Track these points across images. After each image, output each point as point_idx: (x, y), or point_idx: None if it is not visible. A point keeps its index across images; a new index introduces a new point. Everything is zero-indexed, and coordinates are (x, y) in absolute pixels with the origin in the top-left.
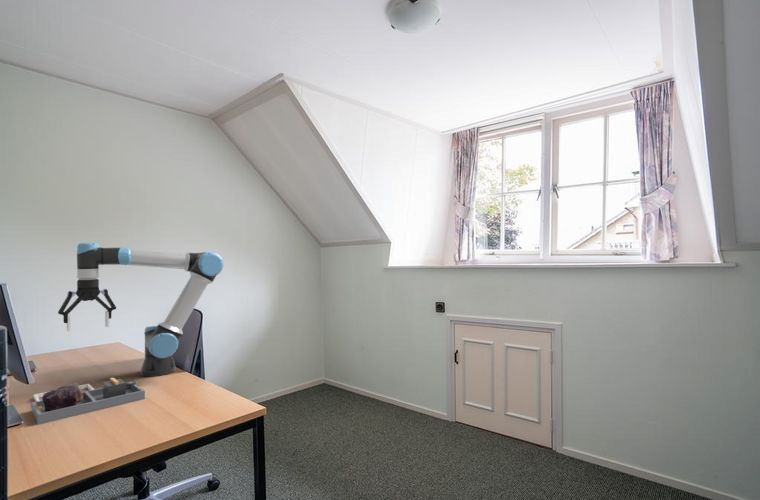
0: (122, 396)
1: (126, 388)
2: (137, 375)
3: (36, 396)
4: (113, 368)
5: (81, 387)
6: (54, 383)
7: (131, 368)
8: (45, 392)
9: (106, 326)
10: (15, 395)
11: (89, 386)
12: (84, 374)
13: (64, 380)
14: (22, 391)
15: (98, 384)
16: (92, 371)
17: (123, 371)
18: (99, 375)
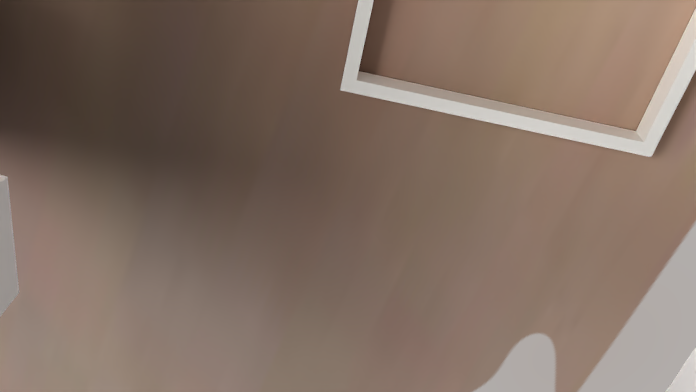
0: None
1: None
2: (13, 63)
3: (673, 95)
4: (95, 344)
5: (391, 82)
6: (422, 332)
7: None
8: (592, 138)
9: (7, 204)
10: (644, 289)
11: (369, 10)
12: (250, 362)
13: (365, 342)
14: (584, 328)
15: (277, 87)
16: (199, 380)
17: (65, 239)
18: (199, 278)
